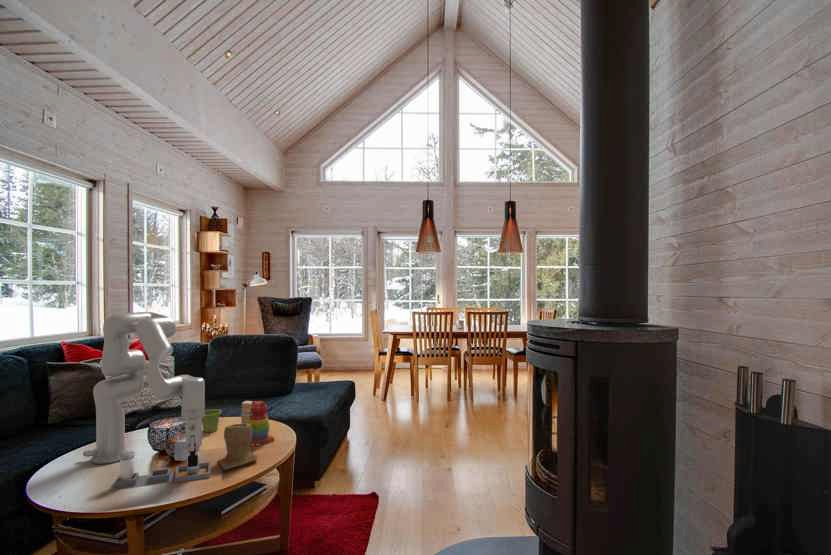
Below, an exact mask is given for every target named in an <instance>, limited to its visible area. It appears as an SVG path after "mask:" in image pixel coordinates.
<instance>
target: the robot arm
mask: <svg viewBox="0 0 831 555" xmlns="http://www.w3.org/2000/svg"><path fill="white" fill-rule="evenodd" d="M176 331H177V325H176V323H175V321H174V319H173V318H171V317H170V316H166V315H164V314H160V313H156V312H154V311H153V312H151V311H140V312H139V311H137V312H121V313H115V314H111V315H109V316H108V317H106V319H105V320H104V322H103V324H102V333H103V341H104V342H103V348H102V354H101V355H102V356H101V365H100V367H101V368H100V370H101V373H102V375H103V376H106V377H109V378H106V379H103V380H100V381H99V382H98V383H96V384H95V385H94V386H93V390H92V393H93V400H94V405H95V416H96V417H95V418H96V419H95V422H96V424H95V426H96V427H95V429H96V430H95V431H96V432H95V433H96V434H95V438H96V439H95V440H96V441H95V442H96V444H95V448H93V449H89V450H87V449H86V450H83V452H82V456H84V457H85V458H87V457H91V463H92V464H96V465H105V464H106V465H107V464H113V463H117V462H120V454H122V453H124V452H129V450H127V449H125V446H126V445H125V441H126V440H125V439H126V437H125V435H126V431H125V429H126V428H125V425H126V424H125V422H126V420H125V419H126V416H125V414H126V413H125V409H124V407H122V405H121V404H120V402H121V401H124V400H129V399H130V400H131V399H133V398H137V397H138V396H140V395H141V393H142V391H143V389H144V388H143V387H144V382H145V380H146V383H147V385H148V387H149V389H150V391H151V392H152V394H153V396H154V397H155V398H156V399H158V400H159V401H167V400H172V399H175V398H179V397H181V419H182V420H184V421H185V422H184V423H185V424H184V426H185V429H184V431H185V437H186V447H187V448H188V467H194V466H198V454H197V446H199V448H200V447H201V446H202V444H203V425H202V417H204V416H205V411H206V410H205V409H206V407H205V406H206V403H205V402H206V401H205V400H206V399H205V398H206V396H205V395H206V393H205V392H206V389H205V388H206V383H205V379H204V378H203V377H198V376H197V377H194V376H191V375H189V374H181V375H176V376H171V377H167V378H165V377H164V376H163V374H162V373H161V369H160V364H161V363H162V362H164V361H165V360H167V359H168V358H169V357H170V356H171V355H172V354H173V352H174V349H173V346H172V344H171V342H170V341H169V339H168V338H172V337H173V336H175V335H176ZM128 335H136V336H137V338H138V341H139V343H140V344H141V346H142V348H143V350H144V352H145V354H146V355H147V357H148V360H149V361H148V363H147V361H146V356H145V354H144V352H143V351H142V350H139V349H137V348H136V349H129V348H130V340H129V338H128ZM110 377H111V378H110ZM194 444H196V446H194ZM194 448H195V449H194Z"/></svg>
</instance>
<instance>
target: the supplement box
mask: <svg viewBox="0 0 831 555" xmlns="http://www.w3.org/2000/svg"><path fill="white" fill-rule="evenodd" d="M253 401H255V400H252V401H251V400H245V401H243V402H241V420H240V421H241V423H240V424H248V420H249V418H250V416H251V415H252V413H251V406H252V402H253ZM255 402H257V401H255Z"/></svg>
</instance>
